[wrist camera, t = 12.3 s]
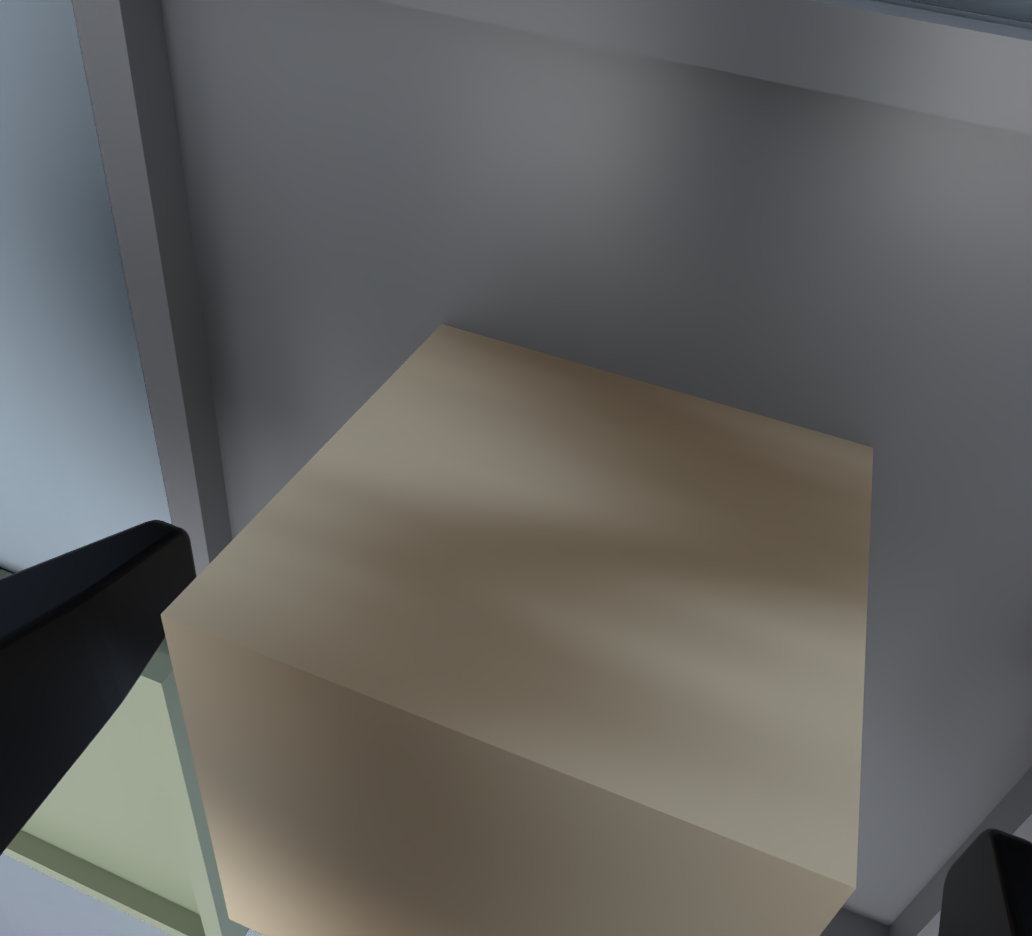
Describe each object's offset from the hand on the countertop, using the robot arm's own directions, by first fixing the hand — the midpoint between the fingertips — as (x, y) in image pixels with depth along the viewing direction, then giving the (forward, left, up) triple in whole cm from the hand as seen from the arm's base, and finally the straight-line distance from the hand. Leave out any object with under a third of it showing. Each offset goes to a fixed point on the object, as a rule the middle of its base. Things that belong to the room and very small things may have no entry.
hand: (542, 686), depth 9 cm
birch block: (0, 0, -2) cm, 2 cm away
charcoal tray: (0, 0, -3) cm, 3 cm away
